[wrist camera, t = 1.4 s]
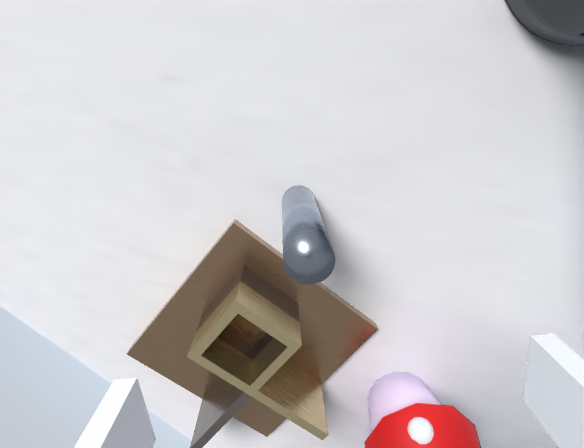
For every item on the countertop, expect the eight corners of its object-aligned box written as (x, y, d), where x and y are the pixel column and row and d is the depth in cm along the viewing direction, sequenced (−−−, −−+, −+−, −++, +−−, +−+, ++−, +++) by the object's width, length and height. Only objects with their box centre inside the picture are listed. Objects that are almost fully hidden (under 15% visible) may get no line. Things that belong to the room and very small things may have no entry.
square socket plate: (234, 219, 34) (222, 251, 27) (375, 323, 38) (396, 375, 31) (130, 347, 38) (96, 404, 31) (267, 429, 42) (264, 495, 35)
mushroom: (334, 379, 40) (355, 490, 29) (427, 338, 39) (487, 437, 28) (373, 443, 44) (406, 565, 32) (460, 407, 42) (527, 521, 31)
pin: (296, 178, 33) (306, 227, 21) (321, 199, 34) (345, 257, 21) (275, 204, 34) (272, 265, 21) (300, 223, 34) (312, 293, 22)
